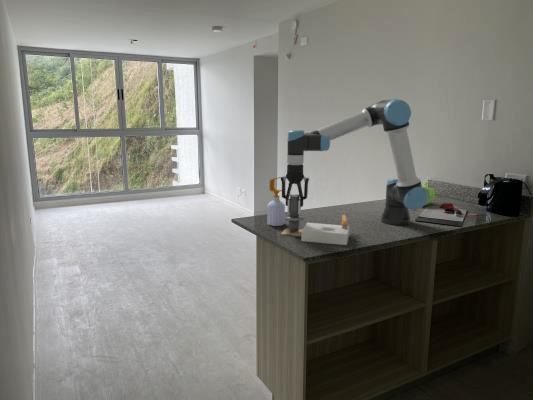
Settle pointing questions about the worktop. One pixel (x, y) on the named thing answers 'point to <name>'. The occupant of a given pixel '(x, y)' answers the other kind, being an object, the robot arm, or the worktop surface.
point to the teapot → (429, 193)
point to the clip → (344, 220)
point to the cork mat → (292, 232)
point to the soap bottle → (275, 208)
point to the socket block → (325, 233)
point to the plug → (294, 213)
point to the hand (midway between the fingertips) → (294, 212)
